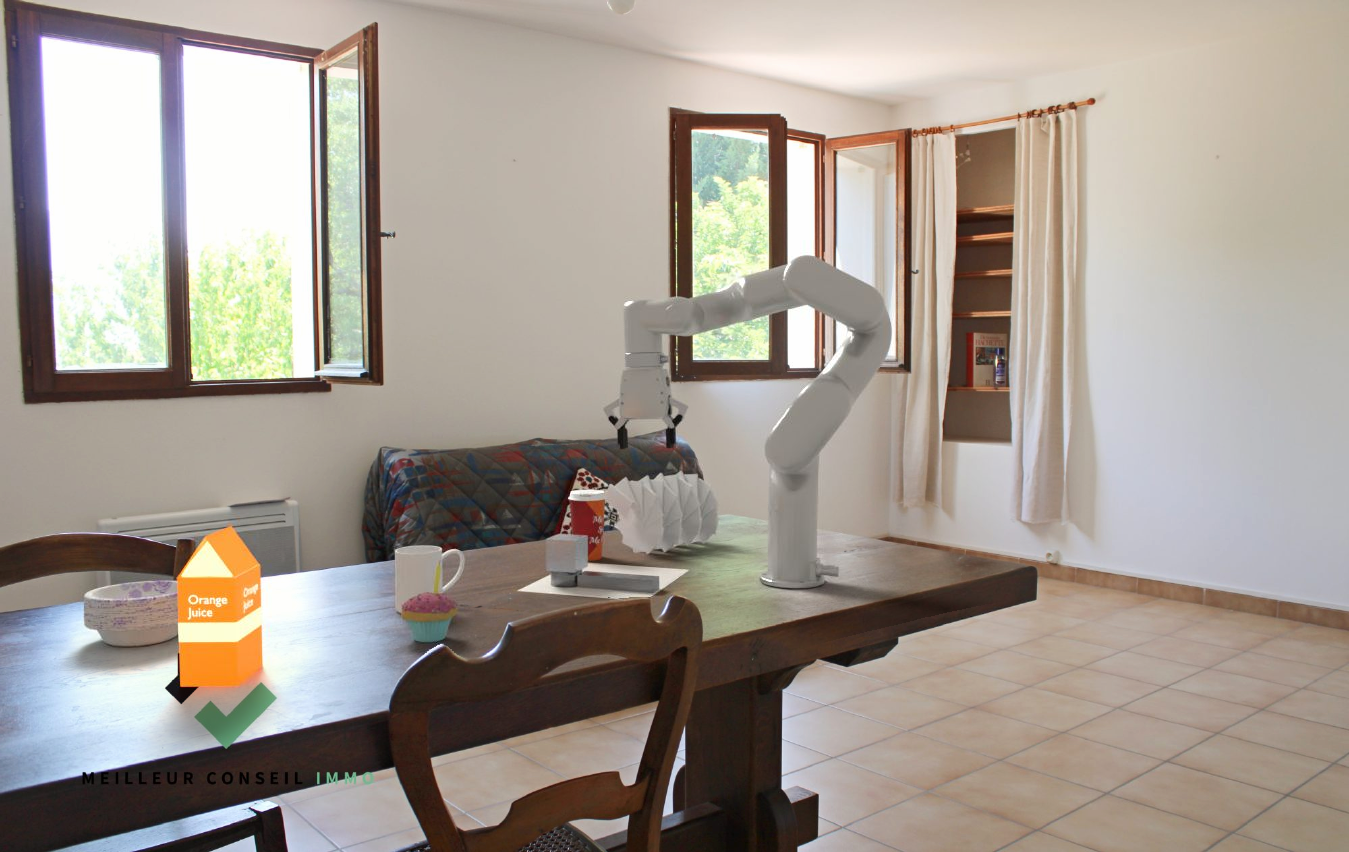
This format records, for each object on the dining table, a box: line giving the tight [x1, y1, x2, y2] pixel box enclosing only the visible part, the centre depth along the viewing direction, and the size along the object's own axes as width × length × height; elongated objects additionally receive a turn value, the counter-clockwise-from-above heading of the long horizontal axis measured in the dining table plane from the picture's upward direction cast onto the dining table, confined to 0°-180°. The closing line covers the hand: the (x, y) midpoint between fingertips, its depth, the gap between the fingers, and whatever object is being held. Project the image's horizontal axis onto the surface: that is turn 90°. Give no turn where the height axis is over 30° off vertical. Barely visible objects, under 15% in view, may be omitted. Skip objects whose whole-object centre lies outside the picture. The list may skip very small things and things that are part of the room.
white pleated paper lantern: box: [605, 470, 720, 555], centre depth 229 cm, size 18×18×25 cm
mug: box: [394, 544, 466, 614], centre depth 174 cm, size 12×8×10 cm, turn 124°
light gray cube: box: [545, 533, 589, 573], centre depth 190 cm, size 6×6×6 cm
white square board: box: [517, 562, 690, 600], centre depth 194 cm, size 25×28×1 cm
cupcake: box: [400, 560, 458, 643], centre depth 155 cm, size 9×8×12 cm
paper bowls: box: [83, 580, 179, 648], centre depth 154 cm, size 15×15×8 cm
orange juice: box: [176, 525, 264, 688], centre depth 136 cm, size 8×9×20 cm
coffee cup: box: [567, 489, 606, 562], centre depth 216 cm, size 8×8×15 cm
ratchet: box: [550, 570, 659, 593], centre depth 188 cm, size 21×6×7 cm, turn 73°
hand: (646, 448), depth 200 cm, fingers open, 9 cm apart
